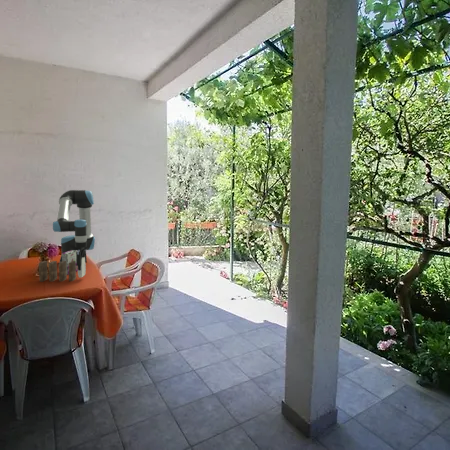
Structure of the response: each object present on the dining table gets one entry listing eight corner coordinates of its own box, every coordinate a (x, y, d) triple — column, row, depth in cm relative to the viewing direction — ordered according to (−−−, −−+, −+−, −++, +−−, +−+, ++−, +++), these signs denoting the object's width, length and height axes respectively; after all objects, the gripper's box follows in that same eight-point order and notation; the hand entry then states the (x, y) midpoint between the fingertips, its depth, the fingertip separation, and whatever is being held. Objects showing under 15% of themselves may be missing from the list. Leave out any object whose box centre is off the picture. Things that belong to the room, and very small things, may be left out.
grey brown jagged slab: (59, 281, 219) (58, 263, 217) (63, 278, 226) (62, 260, 224) (62, 281, 219) (62, 263, 218) (66, 278, 226) (66, 260, 224)
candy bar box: (72, 270, 247) (71, 250, 245) (77, 271, 246) (77, 250, 244) (62, 274, 236) (61, 253, 234) (68, 274, 235) (67, 253, 233)
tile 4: (69, 281, 220) (68, 263, 218) (72, 278, 226) (72, 260, 225) (72, 281, 220) (71, 263, 218) (76, 278, 227) (75, 260, 225)
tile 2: (49, 281, 218) (48, 263, 217) (53, 278, 225) (53, 260, 223) (53, 281, 218) (52, 263, 217) (57, 278, 225) (56, 260, 224)
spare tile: (78, 277, 220) (78, 259, 218) (81, 274, 227) (81, 257, 225) (82, 277, 220) (81, 259, 219) (85, 274, 227) (84, 257, 226)
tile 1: (39, 281, 217) (38, 263, 216) (44, 278, 224) (43, 261, 223) (43, 281, 218) (42, 263, 216) (47, 278, 225) (46, 261, 223)
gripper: (80, 239, 230) (81, 269, 233) (70, 244, 210) (71, 277, 213) (90, 239, 231) (91, 269, 234) (81, 244, 211) (82, 277, 214)
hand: (81, 273), depth 223 cm, fingers closed on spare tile, 7 cm apart
